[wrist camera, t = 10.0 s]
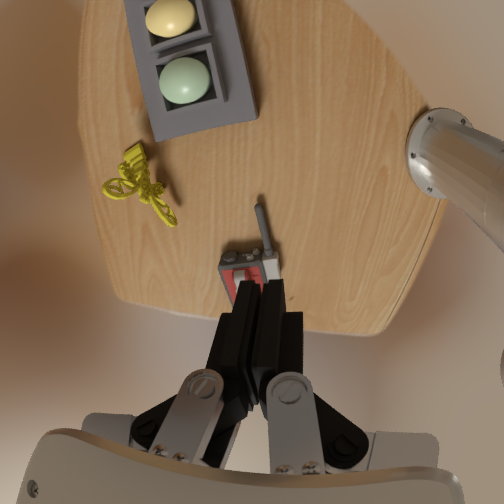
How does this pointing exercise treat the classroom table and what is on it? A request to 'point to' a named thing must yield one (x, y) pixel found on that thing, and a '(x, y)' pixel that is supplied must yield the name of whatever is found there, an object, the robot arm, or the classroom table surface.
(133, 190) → the decorative insect
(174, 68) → the sage button
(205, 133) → the classroom table surface
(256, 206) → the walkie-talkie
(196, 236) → the classroom table surface
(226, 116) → the button panel
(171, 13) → the mustard button
